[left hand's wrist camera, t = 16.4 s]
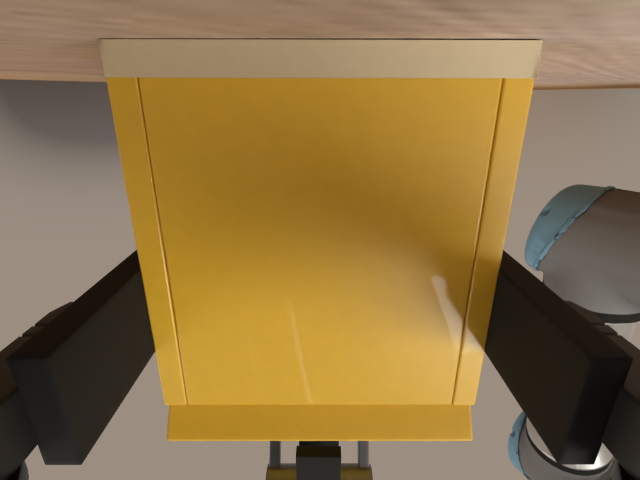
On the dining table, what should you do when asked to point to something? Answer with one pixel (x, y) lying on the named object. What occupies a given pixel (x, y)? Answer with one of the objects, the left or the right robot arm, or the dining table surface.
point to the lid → (319, 428)
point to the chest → (319, 211)
